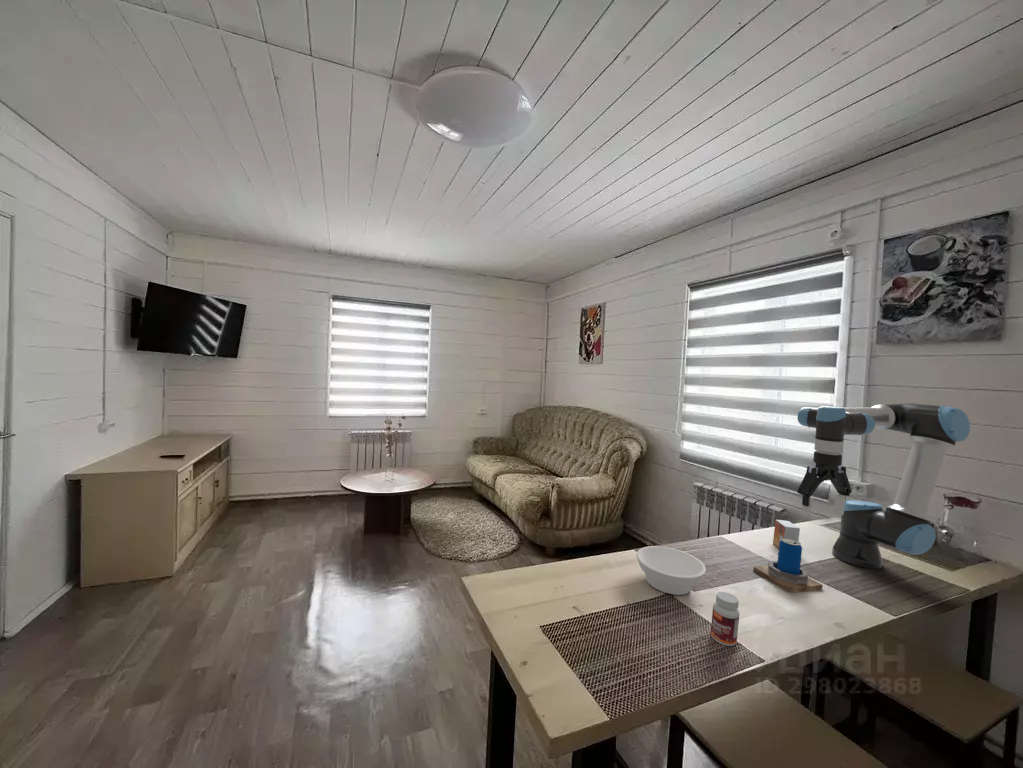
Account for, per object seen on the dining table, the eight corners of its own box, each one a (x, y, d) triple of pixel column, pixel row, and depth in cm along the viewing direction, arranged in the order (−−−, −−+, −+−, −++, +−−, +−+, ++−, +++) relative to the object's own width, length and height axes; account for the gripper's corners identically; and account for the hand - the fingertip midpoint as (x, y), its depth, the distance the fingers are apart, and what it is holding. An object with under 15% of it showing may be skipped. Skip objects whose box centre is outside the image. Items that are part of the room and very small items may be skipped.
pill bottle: (707, 638, 106) (711, 596, 106) (713, 628, 111) (717, 587, 110) (733, 650, 102) (738, 607, 102) (739, 639, 107) (743, 597, 106)
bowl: (712, 587, 133) (715, 562, 132) (689, 613, 117) (692, 585, 117) (650, 562, 147) (652, 540, 147) (622, 582, 132) (624, 558, 131)
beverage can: (802, 581, 137) (806, 546, 136) (781, 578, 138) (785, 543, 138) (793, 572, 143) (796, 538, 143) (773, 569, 144) (776, 536, 144)
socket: (784, 568, 149) (785, 557, 149) (822, 589, 136) (823, 577, 136) (753, 570, 146) (754, 559, 145) (788, 592, 132) (790, 580, 132)
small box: (772, 543, 171) (774, 519, 171) (786, 545, 170) (789, 520, 170) (782, 552, 163) (784, 526, 163) (797, 554, 162) (800, 528, 162)
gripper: (845, 449, 143) (840, 508, 144) (787, 450, 137) (783, 512, 139) (868, 454, 136) (863, 516, 137) (808, 455, 130) (803, 520, 131)
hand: (822, 514), depth 138 cm, fingers open, 13 cm apart
